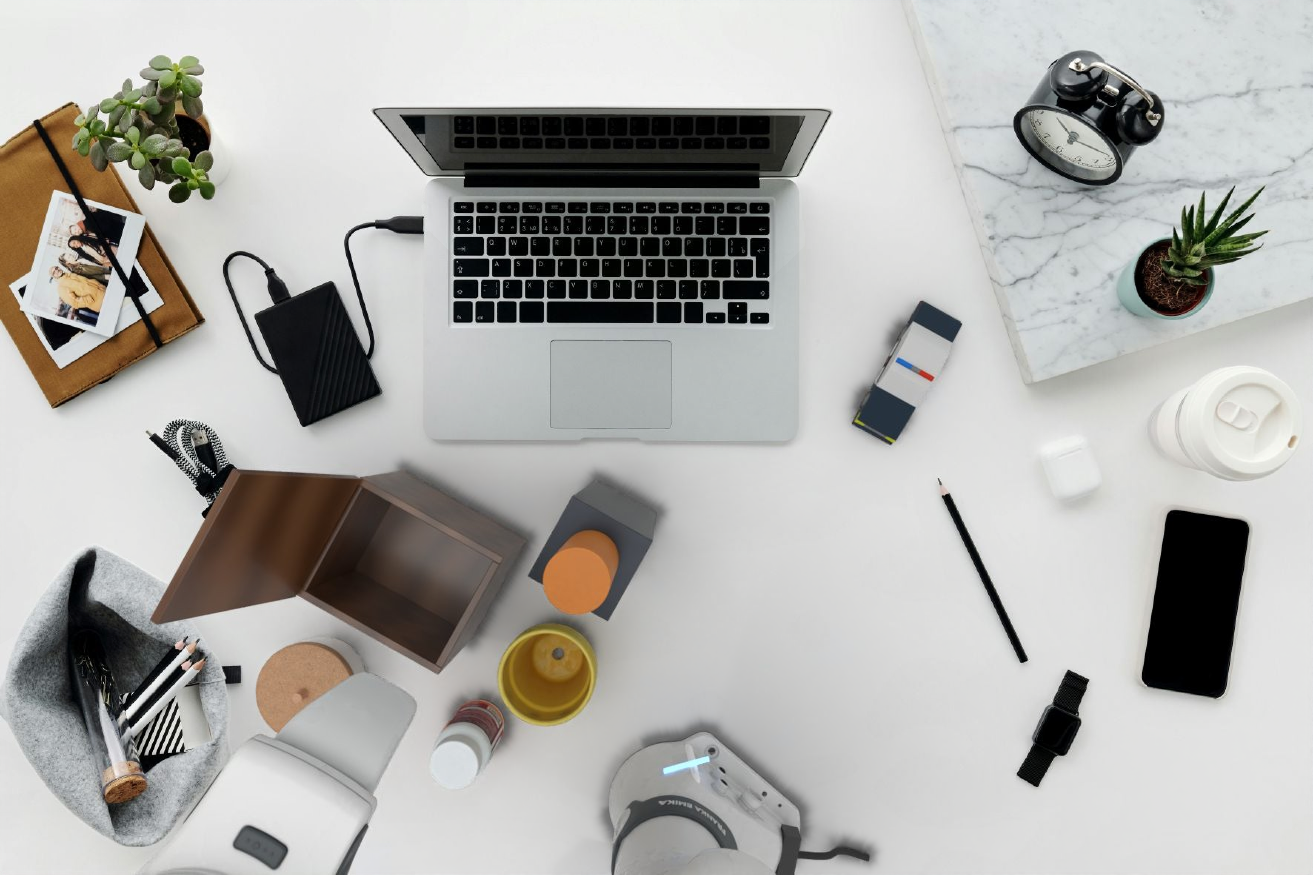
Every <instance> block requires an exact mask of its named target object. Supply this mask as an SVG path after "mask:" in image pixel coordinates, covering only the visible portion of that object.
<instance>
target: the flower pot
mask: <svg viewBox="0 0 1313 875" xmlns="http://www.w3.org/2000/svg"><path fill="white" fill-rule="evenodd" d="M556 649H561V650H562V651H563V655H562V656H561V657H556V656H555V655H554V653H555V652H554V651H555V650H556ZM496 679H497V688H498V691H499V695H500V697H501V699H502V701H503V703H504V705H505V706H506V708H507V709H508V710H509V711H510V712H511V713H512V714H513V715H514V716H515V717H517V718H518V719H519V720H521V721H523V722H524V723H527V724H530V725H533V726H537V727H554V726H558V725H562V724H564V723H567V722H569V721H571V720H572V719H574V718H575V717H577V716H578V715H579V714H580V713H581V712H582V711H583V710H584V709H585V708H586V706H587V705H588V704H589V702H590V700H591V698H592V696H593V694H594V690H595V689H596V684H597V679H598V662H597V658H596V654H595V652H594V649H593V648H592V645H591V644H590V643H589V641H588V640H587V639H586V638H585V637H584V636H583V635H582V634H581V633H580V632H578V631H577V630H575V629H574V628H572V627H570V626H568V625H565V624H561V623H555V622H547V623H540V624H535V625H533V626H531V627H529V628H526V630H524V631H522V632H521V633H519V635H518V636H516V637H515V638H514V639H513V640H512V641H511V643H510V644H509V645H508V647H507V648H506V649H505V650H504V652H503V654H502V656H501V659H500V660H499V665H498V668H497V678H496Z"/></svg>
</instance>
